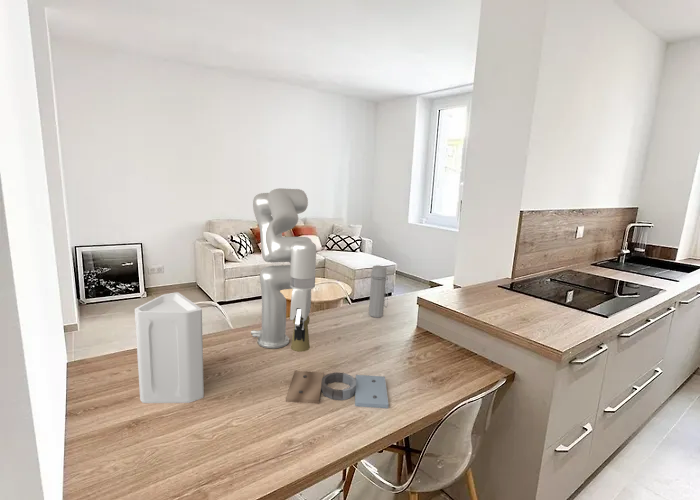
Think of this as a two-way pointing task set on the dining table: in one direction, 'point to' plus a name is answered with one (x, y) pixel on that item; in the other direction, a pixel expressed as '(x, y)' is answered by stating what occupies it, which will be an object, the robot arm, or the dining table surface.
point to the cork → (299, 344)
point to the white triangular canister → (169, 350)
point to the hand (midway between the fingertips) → (300, 337)
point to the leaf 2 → (366, 390)
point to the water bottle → (377, 291)
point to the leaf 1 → (313, 387)
